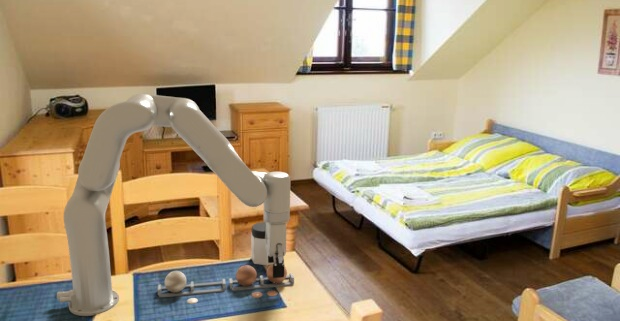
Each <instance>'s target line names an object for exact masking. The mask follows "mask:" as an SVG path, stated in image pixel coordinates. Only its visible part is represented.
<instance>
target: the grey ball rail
mask: <svg viewBox="0 0 620 321" xmlns="http://www.w3.org/2000/svg"><path fill="white" fill-rule="evenodd" d="M228 279H229V281H228V284H229V289H230V290H231V291H232V292H235V291H246V290H257V289H267V288H278V287H279V288H280V287H287V286H288V287H289V286H294V284H295V276H294V274H293V273H292V272H289V274H288V275H287V276H286V278H285V280H289V282H286V281H285V282H281V283H268V284H266V283H264V282H267V281H268V282H269V281H270V280H269V279H268V277H267V276H266V277H264V275H259V277H256V280H255V282H254V283H256V282H260V284H257V285H255V284H252V285H250V286H243V285H241V286H234V284H239V283H238V281H237V279H234V280H233V278H232V277H230V278H228ZM211 286H222V287H221V288H211V289H200V290H195V288H200V287H211ZM189 288H190V291H180V292H176V293H173V292H166V293H162V291H169V290H168V289H167V288H166V287H165V285H164V286H162V284H159V283H158V285H157V296H159V298H171V297H180V296H193V295H202V294H203V295H204V294H212V293H224V292H225V290H226V289H227V284H226V279H225V278H222V280H219V281H212V282H199V283H194V281H190V283H189V284H187V283H186V286H185V287H184V289H189Z"/></svg>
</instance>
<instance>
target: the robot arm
mask: <svg viewBox="0 0 620 321" xmlns="http://www.w3.org/2000/svg"><path fill="white" fill-rule="evenodd" d="M154 126H155V127H165V128H166V127H167V128H171V129H173V131H174V132H175V133H176V134H177V135H178V136H179V137H180V138H181V139H182V140H183V141H184V142H185V143H186V144H187V145H188V146H189V148H191V149H192V150H193V151H194V152H195V154H196V155H197V156H199V157H200V159H201V160H202V161H203V162H204V163H205V164H206V165H207V167H208V168H209V169H210V170H211V171H212V172H213V173H214V174H215V175H216V176H217V178H218V179H219V180H220V181H221V182H222V183H223V184H224V185H225V187H227V189H228V190H230V192H231V193H232V194H233V195H234V196H235V197H236V199H238V200H239V201H240V202H241V203H243V204H244V205H245V206H247V207H250V208H255V207H260V206H261V205H262V204H263V222H266V229H265V247H266V250H267V253H268V263H272V264H273V263H274V264H273V278H281V277H284V266H285V259H284V258H285V255H286V252H287V250H286V249H287V223H289V221H290V219H291V218H290V216H291V214H290V213H291V181H292V180H291V176H290V174H288V173H287V172H284V171H270V172H265V171H264V172H262V171H255V170H254V171H253V170H251V169H250V168H249V167H248V166H247V165H246V164H245V162H244V161H243V159H242V158H241V157H240V156H239V154H238V153H237V151H236V149H235V148H234V146H233V145H232V143H231V142H230V141H229V140H228V138H227V137H226V136H224V134H223V133H222V132H221V131H220V130H219V129H218V128H217V127H216V126H215V125H214V124H213V123H212V121H211V120H210V119H209V118H208V117H207V116H206V115H205V114H204V112H202V111H201V110H200V107H199V106H198V105H197V103H196V102H195V101H193V100H192V99H190V98H186V97H175V96H166V95H159V94H148V93H147V94H146V93H138V94H134V95H132V96H130V97H129V98H128V99H127V100H126V101H122V102H118V103H116V104H113V105H111V106H109V107H107V108H106V109H105V110H103V111H102V112H101V114H99V116H98V117H97V118H96V120H95V123H94V125H93V128H92V130H91V133H90V137H89V139H88V141H87V144H86V148H85V151H84V154H83V157H82V159H81V161H80V163H79V166H78V169H77V170H78V171H77V173H78V174H77V175H78V177H77V180H76V183H75V186H74V188H73V193H72V194H71V196H70V197H69V198H68V201H67V202H66V204H65V208H64V210H63V224H64V229H65V234H66V238H67V244H68V245H67V246H68V253H69V254H68V255H69V261H70V262H69V263H70V269H71V270H70V271H71V277H72V278H71V279H72V280H71V281H72V289H69V290H67V291H64V290H63V291H56V299H57V300H59V303H67V302H68V310H69V311H70V313H71V314H73V315H76V316H81V317H91V316H97V314H101V313H103V312H106V311H109V310H111V309H113V308H114V307H116V306H117V304H118V302H119V301H120V297H119V294H118V292H116V291H114V290H113V286H112V284H113V283H112V274H111V262H110V260H111V259H110V249H109V240H108V232H107V226H106V225H107V224H106V213H107V208H108V205H109V203H110V199H111V197H112V192H113V190H114V187H115V183H116V180H117V178H118V174H119V171H120V167H121V158H122V155H123V151H124V149H125V146H126V144H127V140H128V139H129V137H130V136H132V135H133V134H135V133H140V132H141V133H142V132H144V131H148V130H149V129H151V128H152V127H154Z"/></svg>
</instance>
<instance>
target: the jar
mask: <svg viewBox="0 0 620 321" xmlns="http://www.w3.org/2000/svg"><path fill="white" fill-rule="evenodd" d="M265 229H266V222H265V221H263V222H262V221H261V222H260V221H259V222H256V223H254V224H253V225H251V234H250V240H251V241H250V242H251V243H250V245H251V247H250V250H251V251H250V252H251V253H250V254H251V260H252V262H253V264H254V265H259V266H260V265H262V266H270V265H271V264H273V263H268V253H267V250H266V247H265Z"/></svg>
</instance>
